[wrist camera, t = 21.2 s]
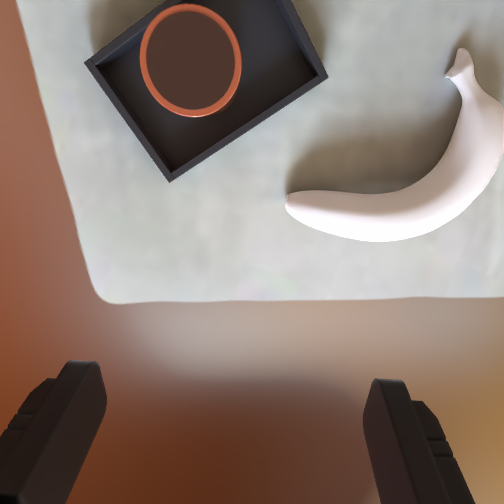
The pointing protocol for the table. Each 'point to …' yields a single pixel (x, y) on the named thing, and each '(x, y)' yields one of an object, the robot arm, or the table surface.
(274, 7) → the tray
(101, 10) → the table surface
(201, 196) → the table surface
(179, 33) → the cup
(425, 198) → the banana
